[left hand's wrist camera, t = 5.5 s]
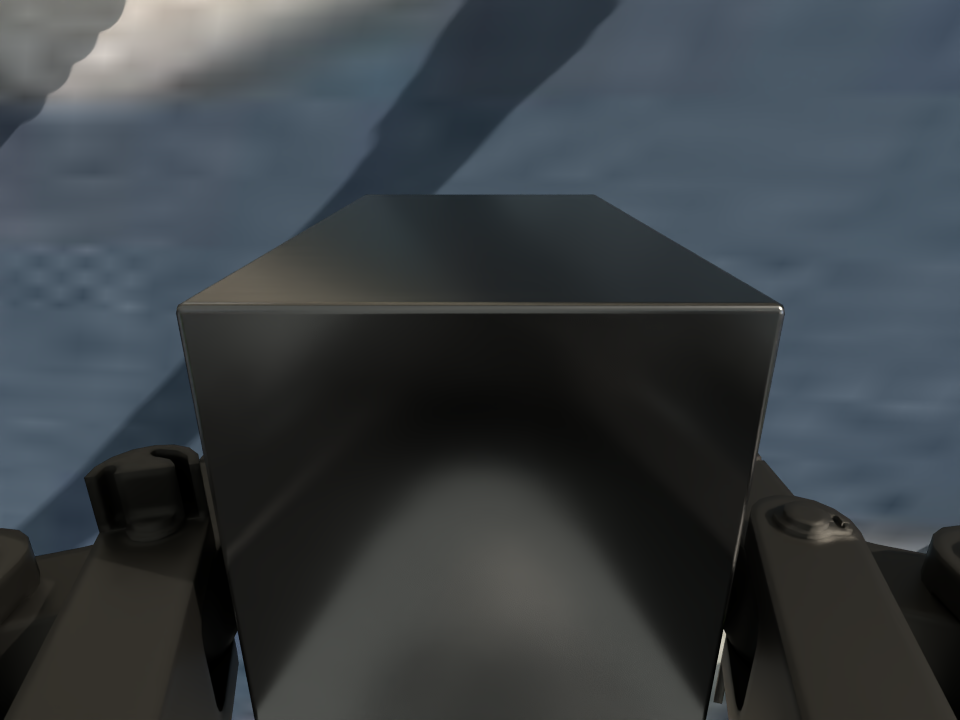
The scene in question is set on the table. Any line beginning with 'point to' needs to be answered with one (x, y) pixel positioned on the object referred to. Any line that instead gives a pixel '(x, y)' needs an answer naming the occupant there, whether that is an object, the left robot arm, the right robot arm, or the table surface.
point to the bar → (480, 460)
